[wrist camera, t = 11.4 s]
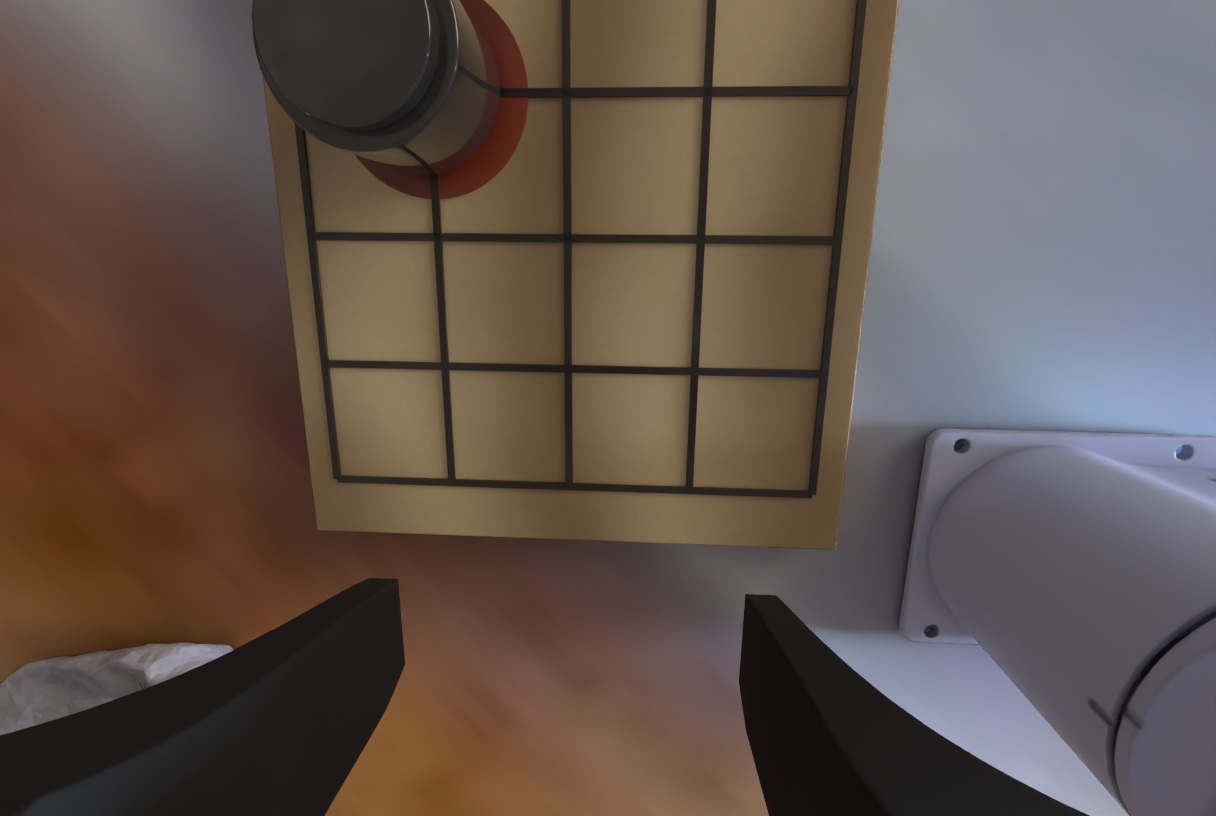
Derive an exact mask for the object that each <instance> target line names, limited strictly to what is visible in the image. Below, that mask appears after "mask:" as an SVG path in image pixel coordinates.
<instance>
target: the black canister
mask: <svg viewBox="0 0 1216 816" xmlns="http://www.w3.org/2000/svg"><path fill="white" fill-rule="evenodd" d="M252 20H253V38H254V44H255V50H256V55H257V58H258V62H259V65H260V69H261V71H262V74H263V76H264V78H265V81H266V83H267V85H268V87H269V88H270V90H271V92H272V94H273V96H274V97H275V99H276V100H277V102H278V103H279V105H280V106H281V107H282V109H283V110H284V111H285V112H286V113H287V115H288V116H289V117H290V118H291V119H292V120H293V121H294V122H295V123H296V124H297V125H298V126H300V127H301V128H302V129H303V130H304V131H306V132H307V133H309V134H310V135H311V136H313V137H314V138H316V139H318V140H320V141H322V142H324V143H326V144H328V145H331V146H333V147H336V148H339V149H341V150H344V151H347V152H350V153H352V154H355V155H358V156H360V157H363V158H366V159H369V160H371V161H374V162H377V163H379V164H382V165H385V166H387V167H390V168H393V169H396V170H398V171H401V172H404V173H409V174H414V175H434V174H439V173H443V172H446V171H449V170H452V169H454V168H456V167H458V166H459V165H461V164H463V163H464V162H466V161H467V160H468V159H470V158H471V157H472V156H473V155H474V154H475V153H476V152H477V151H478V150H479V149H480V147H481V146H482V145H483V143H484V142H485V141H486V139H487V137H488V135H489V134H490V132H491V130H492V127H493V125H494V122H495V119H496V116H497V112H498V107H499V100H500V80H499V72H498V67H497V62H496V59H495V56H494V53H493V50H492V48H491V46H490V44H489V42H488V40H487V38H486V37H485V35H484V33H483V32H482V30H481V29H480V27H479V26H478V24H477V23H476V22H475V20H474V19H473V17H472V16H471V15H470V13H469V12H468V10H467V9H466V7H465V6H464V5H463V3H462V2H461V0H253V7H252Z"/></svg>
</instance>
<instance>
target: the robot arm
mask: <svg viewBox="0 0 1216 816" xmlns="http://www.w3.org/2000/svg"><path fill="white" fill-rule="evenodd" d="M959 439H964V444H963V446H962V447H961V448H960V449H958V450H954V444H955V442H956V441H957V440H959ZM1180 446H1182V450H1181V452H1180V453H1179V454H1178V455H1176V451H1177V449H1178V448H1179V447H1180ZM929 625H934V626H933V628H932V629H931V630H929V631H924V630H925V628H926V627H927V626H929ZM899 629H900V631H901V632H902V634H903V635H904V637H905V638H906V639H908V640H909V641H913V642H926V643H947V644H969V645H981V646H982V647H983V649H984V650H985V651H986V652H987V653H988V654H989V655H990V657H991V658H992V659H993V660H994V661H995V662H996V663H997V665H998V666H999V667H1000V668H1001V669H1002V670H1003V671H1004V673H1005V674H1006V675H1007V676H1008V677H1009V678H1010V679H1011V681H1012V682H1013V683H1014V684H1015V685H1016V686H1017V687H1018V689H1019V690H1020V691H1021V692H1022V693H1023V694H1024V695H1025V697H1026V698H1027V699H1028V700H1029V701H1030V702H1031V704H1032V705H1033V706H1034V707H1035V708H1036V709H1037V710H1038V712H1039V713H1040V714H1041V715H1042V716H1043V717H1044V718H1045V720H1046V721H1047V722H1048V723H1049V724H1050V725H1051V726H1052V728H1053V729H1054V730H1055V731H1056V732H1057V733H1058V734H1059V736H1060V737H1061V738H1062V739H1063V740H1064V741H1065V742H1066V744H1067V745H1068V746H1069V747H1070V748H1071V749H1072V750H1073V752H1074V753H1075V754H1076V755H1077V756H1078V757H1079V758H1080V760H1081V761H1082V762H1083V763H1084V764H1085V765H1086V766H1087V768H1088V769H1089V770H1090V771H1091V772H1092V773H1093V774H1094V776H1095V777H1096V778H1097V779H1098V780H1099V781H1100V783H1101V784H1102V785H1103V786H1104V787H1105V788H1106V789H1107V791H1108V792H1109V793H1110V794H1111V795H1112V796H1113V797H1114V799H1115V800H1116V801H1117V802H1118V803H1119V804H1120V805H1121V807H1122V808H1123V809H1124V810H1125V811H1126V812H1127V813H1128V815H1129V816H1216V436H1211V435H1173V434H1135V433H1097V432H1059V431H1020V430H982V429H944V428H943V429H937V430H935V431H934V432H932V433H931V434H930V435H929V436H928V438H927V441H926V446H925V453H924V459H923V466H922V473H921V480H920V486H919V493H918V500H917V507H916V513H915V520H914V527H913V534H912V540H911V547H910V554H909V561H908V567H907V574H906V581H905V588H904V594H903V601H902V608H901V615H900V621H899ZM404 666H405V657H404V645H403V633H402V622H401V610H400V598H399V587H398V579H381V578H369V579H366V580H364V581H362V582H360V583H358V584H356V585H354V586H352V587H350V588H348V589H346V590H344V591H342V592H340V593H339V594H337V595H335V596H333V597H331V598H330V599H328V600H326V601H324V602H323V603H321V604H319V605H317V606H315V607H314V608H312V609H310V610H308V611H306V612H305V613H303V614H301V615H299V616H297V617H296V618H294V619H292V620H290V621H289V622H287V623H285V624H283V625H281V626H279V627H277V628H276V629H274V630H272V631H270V632H268V633H266V634H264V635H262V636H260V637H258V638H256V639H254V640H252V641H250V642H248V643H246V644H244V645H243V646H241V647H239V648H237V649H235V650H233V651H231V652H229V653H227V654H225V655H223V656H220V657H218V658H216V659H214V660H212V661H210V662H207V663H205V664H203V665H201V666H199V667H196V668H194V669H192V670H189V671H187V672H185V673H182V674H180V675H178V676H175V677H173V678H171V679H168V680H166V681H163V682H161V683H158V684H156V685H153V686H150V687H147V688H145V689H142V690H139V691H137V692H134V693H131V694H128V695H126V696H123V697H120V698H117V699H115V700H112V701H109V702H106V703H104V704H101V705H98V706H96V707H93V708H90V709H87V710H84V711H81V712H77V713H74V714H71V715H68V716H65V717H62V718H58V719H55V720H52V721H49V722H45V723H42V724H38V725H35V726H32V727H28V728H25V729H21V730H18V731H14V732H11V733H7V734H3V735H0V816H324V815H325V813H326V812H327V810H328V808H329V807H330V805H331V803H332V802H333V800H334V798H335V796H336V795H337V793H338V791H339V790H340V788H341V786H342V785H343V783H344V781H345V779H346V778H347V776H348V774H349V773H350V771H351V769H352V768H353V766H354V764H355V763H356V761H357V759H358V757H359V756H360V754H361V752H362V751H363V749H364V747H365V746H366V744H367V742H368V740H369V739H370V737H371V735H372V733H373V732H374V730H375V728H376V726H377V725H378V723H379V721H380V719H381V718H382V716H383V714H384V712H385V711H386V708H387V706H388V704H389V702H390V699H391V697H392V695H393V693H394V690H395V688H396V685H397V683H398V680H399V678H400V675H401V673H402V671H403V668H404ZM739 685H740V692H741V699H742V706H743V713H744V719H745V726H746V731H747V735H748V739H749V743H750V747H751V750H752V754H753V758H754V762H755V765H756V769H757V773H758V776H759V780H760V784H761V787H762V791H763V795H764V798H765V802H766V806H767V809H768V813H769V816H1089V815H1087V814H1085V813H1082V812H1080V811H1078V810H1076V809H1073V808H1071V807H1069V806H1067V805H1065V804H1063V803H1061V802H1059V801H1057V800H1055V799H1053V798H1051V797H1049V796H1047V795H1045V794H1043V793H1041V792H1039V791H1037V790H1035V789H1033V788H1031V787H1029V786H1028V785H1026V784H1024V783H1022V782H1020V781H1018V780H1016V779H1014V778H1012V777H1010V776H1009V775H1007V774H1005V773H1003V772H1001V771H1000V770H998V769H996V768H994V767H992V766H991V765H989V764H987V763H985V762H984V761H982V760H980V759H979V758H977V757H975V756H974V755H972V754H970V753H969V752H967V751H965V750H964V749H962V748H961V747H959V746H957V745H956V744H954V743H952V742H951V741H949V740H947V739H946V738H944V737H943V736H941V735H940V734H938V733H937V732H935V731H934V730H932V729H931V728H929V727H927V726H926V725H925V724H923V723H922V722H920V721H919V720H918V719H916V718H915V717H913V716H912V715H911V714H909V713H908V712H906V711H905V710H904V709H902V708H901V707H899V706H898V705H897V704H895V703H894V702H892V701H891V700H890V699H889V698H887V697H886V696H885V695H883V694H882V693H881V692H880V691H878V690H877V689H876V688H875V687H873V686H872V685H871V684H870V683H869V682H867V681H866V680H865V679H864V678H863V677H861V676H860V675H859V674H858V673H857V672H855V671H854V670H853V669H852V668H851V667H850V666H849V665H847V664H846V663H845V662H844V661H843V660H842V659H841V658H840V657H838V656H837V655H836V654H835V653H834V652H833V651H832V650H831V649H830V648H829V647H828V646H827V645H826V644H825V643H823V642H822V641H821V640H820V639H819V638H818V637H817V636H816V635H815V634H814V633H813V632H812V631H811V630H810V629H809V628H808V627H807V626H806V625H805V624H804V623H803V622H802V621H801V620H800V619H799V618H798V617H797V616H796V615H795V614H794V613H793V612H792V611H791V610H790V609H789V608H788V607H787V606H786V605H785V604H784V603H783V602H782V601H781V600H780V599H779V598H778V597H777V596H776V595H754V594H746V595H745V608H744V621H743V635H742V648H741V661H740V675H739Z"/></svg>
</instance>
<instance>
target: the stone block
mask: <svg viewBox="0 0 1216 816" xmlns="http://www.w3.org/2000/svg"><path fill="white" fill-rule="evenodd" d="M233 650H234V649H233V648H232V647H230V646H229V645H224V644H193V643H182V642H178V643H172V644H152V643H149V644H146V645H144V646H139V647H133V648H123V649H119V650H114V651H106V650H105V651H97V652H93V653H88V654H83V655H78V656H73V657H69V656H60V657H54V658H51V659H43V660H41V661H34V662H30V663H28V664H25V665H23V666H22V667H20V668H19V669H18V670H16V671H15V672H14V673H12V674H11V675H10V676H9V677H8V678H6V679H5V680H4V681H3V682H2V683H1V684H0V735H3V734H7V733H11V732H14V731H18V730H21V729H25V728H28V727H32V726H35V725H38V724H42V723H45V722H49V721H52V720H55V719H58V718H62V717H65V716H68V715H71V714H74V713H77V712H81V711H84V710H87V709H90V708H93V707H96V706H98V705H101V704H104V703H106V702H109V701H112V700H115V699H117V698H120V697H123V696H126V695H128V694H131V693H134V692H137V691H139V690H142V689H145V688H147V687H150V686H153V685H156V684H158V683H161V682H163V681H166V680H168V679H171V678H173V677H175V676H178V675H180V674H182V673H185V672H187V671H189V670H192V669H194V668H196V667H199V666H201V665H203V664H205V663H207V662H210V661H212V660H214V659H216V658H218V657H220V656H223V655H225V654H227V653H229V652H231V651H233Z"/></svg>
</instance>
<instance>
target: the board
mask: <svg viewBox="0 0 1216 816" xmlns="http://www.w3.org/2000/svg"><path fill="white" fill-rule="evenodd" d="M461 2H462V3H463V5H464V6H465V7H466V9H467V10H468V12H469V13H470V15H471V16H472V17H473V19H474V20H475V22H476V23H477V24H478V26H479V27H480V29H481V30H482V32H483V33H484V35H485V37H486V38H487V40H488V42H489V44H490V46H491V48H492V50H493V53H494V56H495V59H496V62H497V67H498V72H499V80H500V100H499V107H498V112H497V116H496V119H495V122H494V125H493V127H492V130H491V132H490V134H489V135H488V137H487V139H486V141H485V142H484V143H483V145H482V146H481V147H480V149H479V150H478V151H477V152H476V153H475V154H474V155H473V156H472V157H471V158H470V159H468V160H467V161H466V162H464V163H463V164H461V165H459V166H458V167H456V168H454V169H452V170H449V171H446V172H443V173H439V174H434V175H414V174H409V173H404V172H401V171H398V170H396V169H393V168H390V167H387V166H385V165H382V164H379V163H377V162H374V161H371V160H369V159H366V158H363V157H360V156H358V155H355V154H352V153H350V152H347V151H344V150H341V149H339V148H336V147H333V146H331V145H328V144H326V143H324V142H322V141H320V140H318V139H316V138H314V137H313V136H311V135H310V134H309V133H307V132H306V131H304V130H303V129H302V128H301V127H300V126H298V125H297V124H296V123H295V122H294V121H293V120H292V119H291V118H290V117H289V116H288V115H287V113H286V112H285V111H284V110H283V109H282V107H281V106H280V105H279V103H278V102H277V100H276V99H275V97H274V96H273V94H272V92H271V90H270V88H269V87H268V85H267V83H266V81H265V78H264V76H263V80H264V89H265V97H266V105H267V114H268V122H269V130H270V139H271V147H272V155H273V164H274V172H275V181H276V189H277V197H278V206H279V214H280V222H281V231H282V239H283V247H284V256H285V264H286V273H287V281H288V289H289V298H290V306H291V314H292V323H293V331H294V340H295V348H296V356H297V365H298V373H299V381H300V390H301V398H302V406H303V415H304V423H305V432H306V440H307V448H308V457H309V465H310V473H311V482H312V490H313V499H314V507H315V515H316V524H317V529H318V530H332V531H358V532H384V533H410V534H437V535H463V536H489V537H515V538H541V539H567V540H593V541H619V542H646V543H672V544H698V545H724V546H750V547H776V548H802V549H828V550H835V549H836V544H837V535H838V526H839V518H840V509H841V500H842V491H843V483H844V474H845V465H846V456H847V448H848V439H849V430H850V422H851V413H852V404H853V395H854V387H855V378H856V369H857V360H858V352H859V343H860V334H861V325H862V317H863V308H864V299H865V290H866V282H867V273H868V264H869V255H870V247H871V238H872V229H873V220H874V212H875V203H876V194H877V185H878V177H879V168H880V159H881V150H882V142H883V133H884V124H885V116H886V107H887V98H888V89H889V81H890V72H891V63H892V54H893V46H894V37H895V28H896V19H897V11H898V2H899V0H461Z"/></svg>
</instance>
